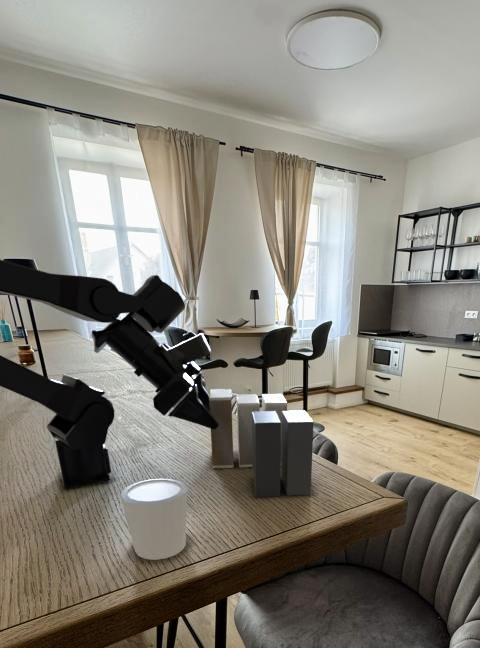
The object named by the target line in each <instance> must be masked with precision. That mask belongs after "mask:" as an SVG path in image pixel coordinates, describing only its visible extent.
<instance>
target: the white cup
mask: <svg viewBox="0 0 480 648" xmlns="http://www.w3.org/2000/svg"><path fill="white" fill-rule="evenodd" d="M187 492H188V490H187V485H186V484H185V483H184V482H182V481H180V480H176V479H173V478H152V479H146V480H145V479H144V480H142V481H137V482H135V483H133V484H129V485H128V486H127V487H125V488H124V489H122V491H121V494H120V499H121V502H122V507H123V510H124V515H125V518H126V523H127V526H128V531H129V534H130V537H131V538H130V539H131V542H132V545H133V549H134V552H135V554H136V555H137V556H138V557H140V558H142V559H144V560H151V561H157V560H158V561H159V560H165V559H169V558H172V557H174V556H176V555H178V554H179V553H181V552H182V551H183V550H184V548H185V547H186V543H187V501H188V499H187V496H188V495H187V494H188V493H187Z"/></svg>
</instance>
